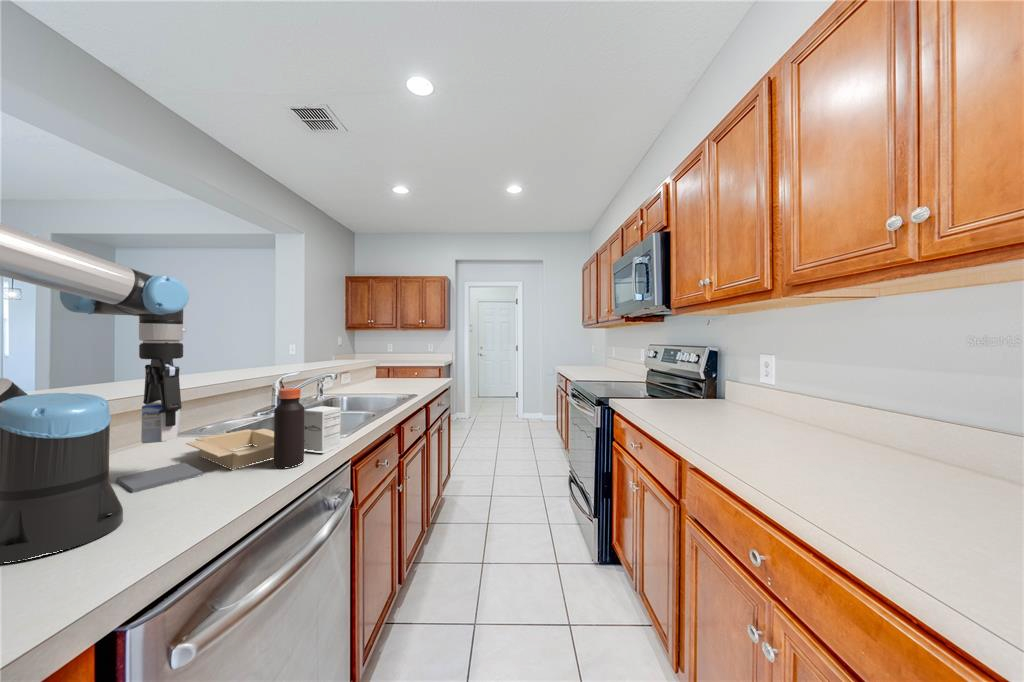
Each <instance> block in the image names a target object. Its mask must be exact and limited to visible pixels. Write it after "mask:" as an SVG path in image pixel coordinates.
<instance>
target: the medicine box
mask: <svg viewBox="0 0 1024 682" xmlns="http://www.w3.org/2000/svg"><path fill="white" fill-rule="evenodd" d="M159 410H162V404H161V400H158V401H155V402H152V403H149V404H147V405H146V404H144V405H143V406H141V434H140V435H141V436H140V437H141V443H142V444H151V443H152V444H153V443H163V442H166V441H161V413H158V411H159ZM180 433H181V409H178V411H177V435H179V434H180Z"/></svg>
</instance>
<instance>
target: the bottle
mask: <svg viewBox="0 0 1024 682" xmlns="http://www.w3.org/2000/svg"><path fill="white" fill-rule="evenodd" d="M301 390H302V389H301V388H299V387H298V388H297V387H295V388H293V387H291V388H282V389H278V400H279V404H278V405H277V406H276V407H275V408H274V409H273V410H274V413H273V417H274V419H273V431H274V460H273V467H274V468H275V467H276V469H278V468H285V467H292V466H295V465H298V464H300V463H302V462H303V461H304V462H305V452H304V410H305V406H304V405H302V403H300V399H301ZM304 462H303V463H304Z"/></svg>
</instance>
